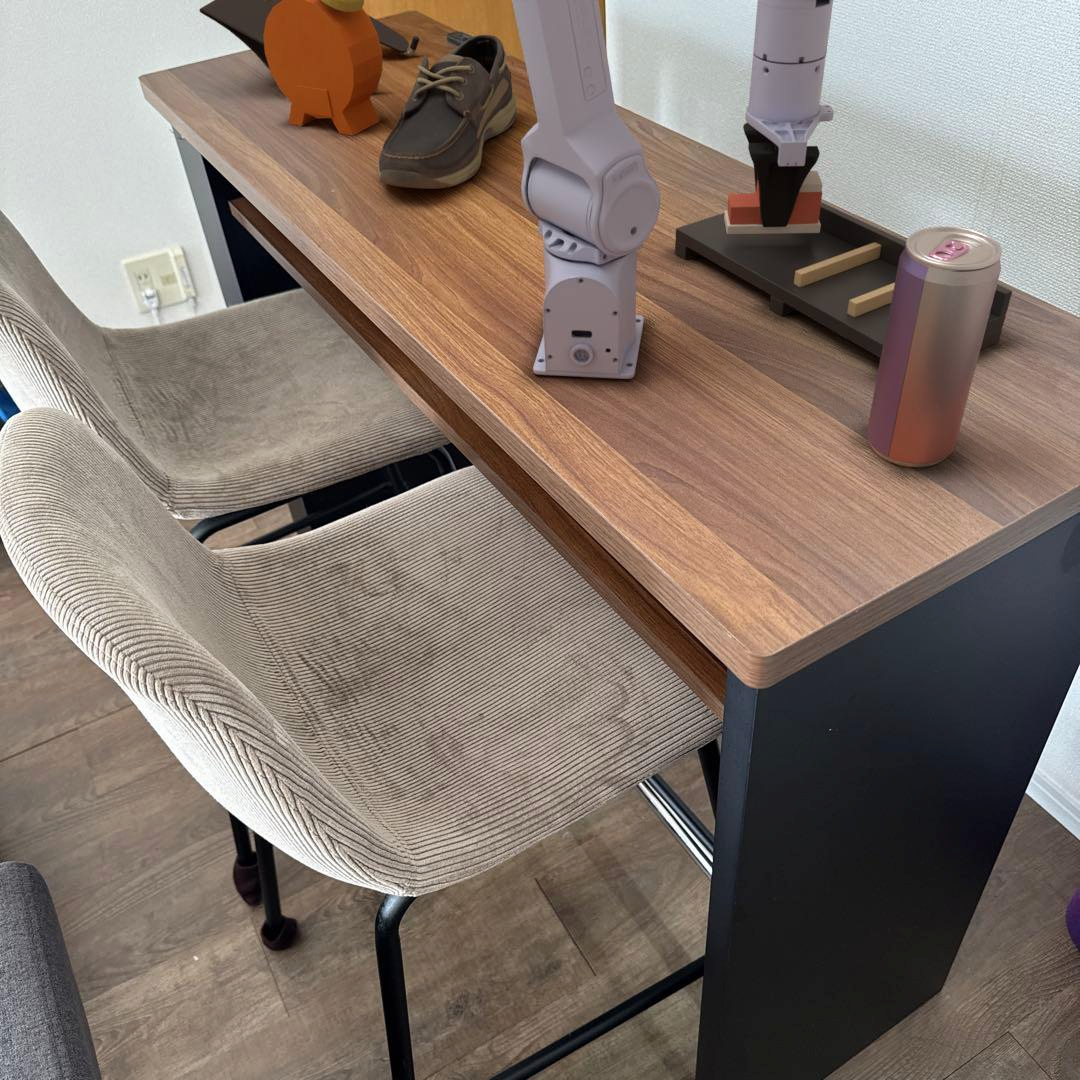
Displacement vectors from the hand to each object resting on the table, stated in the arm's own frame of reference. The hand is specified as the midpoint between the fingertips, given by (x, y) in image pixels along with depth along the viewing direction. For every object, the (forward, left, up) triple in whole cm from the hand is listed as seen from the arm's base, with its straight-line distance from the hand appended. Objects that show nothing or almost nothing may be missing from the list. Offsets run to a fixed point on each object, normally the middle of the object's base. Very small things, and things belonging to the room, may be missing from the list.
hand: (772, 216), depth 93 cm
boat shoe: (+25, +36, -5) cm, 44 cm away
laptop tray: (+54, +59, -5) cm, 80 cm away
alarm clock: (+35, +52, -5) cm, 63 cm away
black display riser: (-5, -5, -5) cm, 8 cm away
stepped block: (0, 0, -1) cm, 1 cm away
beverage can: (-27, -10, -5) cm, 29 cm away
